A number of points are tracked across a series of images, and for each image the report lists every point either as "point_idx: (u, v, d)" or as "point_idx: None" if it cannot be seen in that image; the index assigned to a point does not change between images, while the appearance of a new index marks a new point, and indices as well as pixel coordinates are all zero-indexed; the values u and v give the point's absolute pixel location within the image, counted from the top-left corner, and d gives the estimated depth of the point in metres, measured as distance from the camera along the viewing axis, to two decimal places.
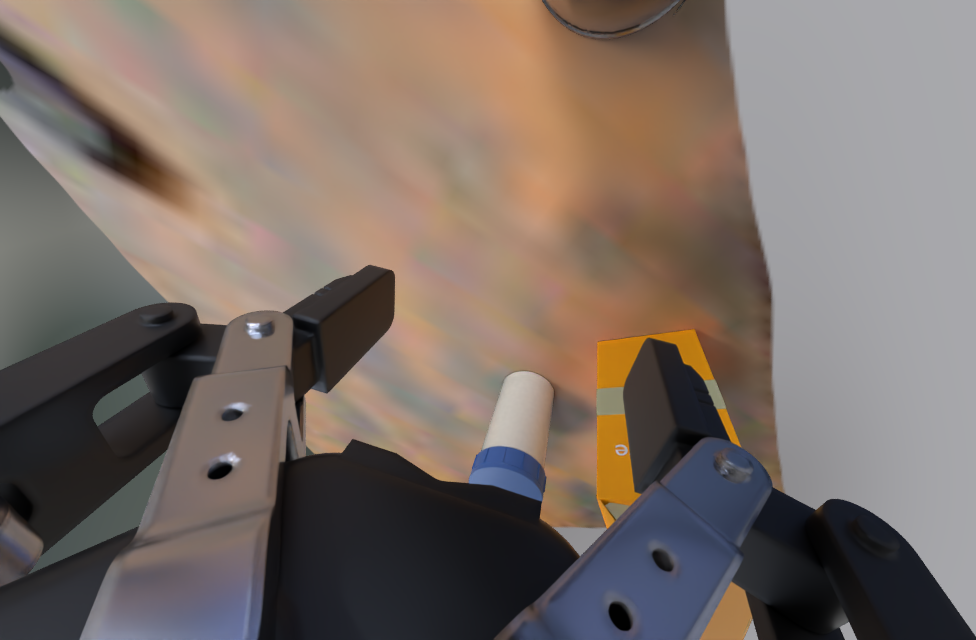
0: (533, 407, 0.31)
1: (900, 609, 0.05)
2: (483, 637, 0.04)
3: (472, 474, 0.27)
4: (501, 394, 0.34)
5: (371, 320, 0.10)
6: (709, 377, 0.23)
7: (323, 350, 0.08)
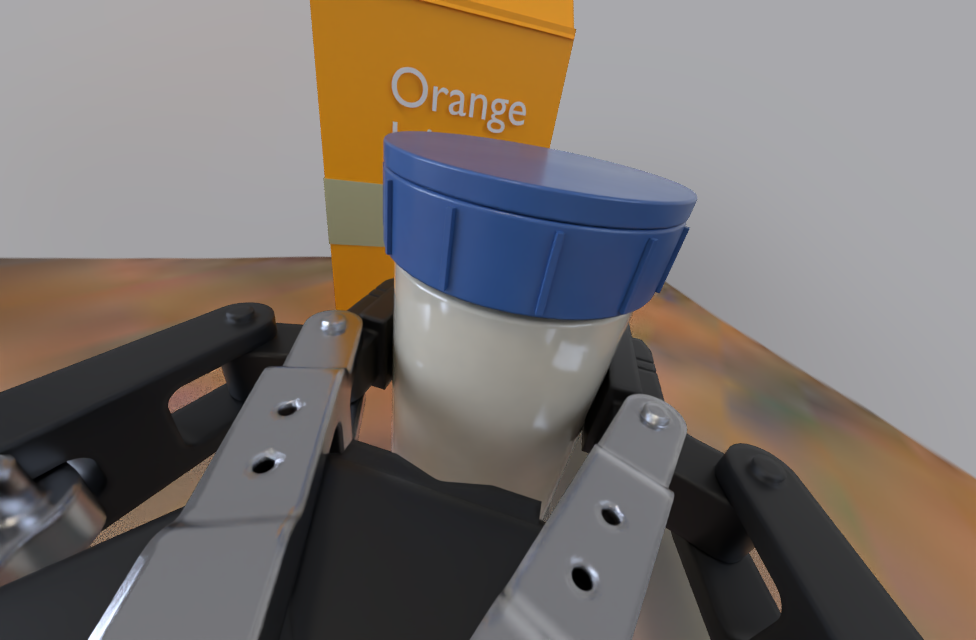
0: None
1: (794, 532, 0.05)
2: None
3: (455, 166, 0.05)
4: None
5: None
6: None
7: (385, 348, 0.09)
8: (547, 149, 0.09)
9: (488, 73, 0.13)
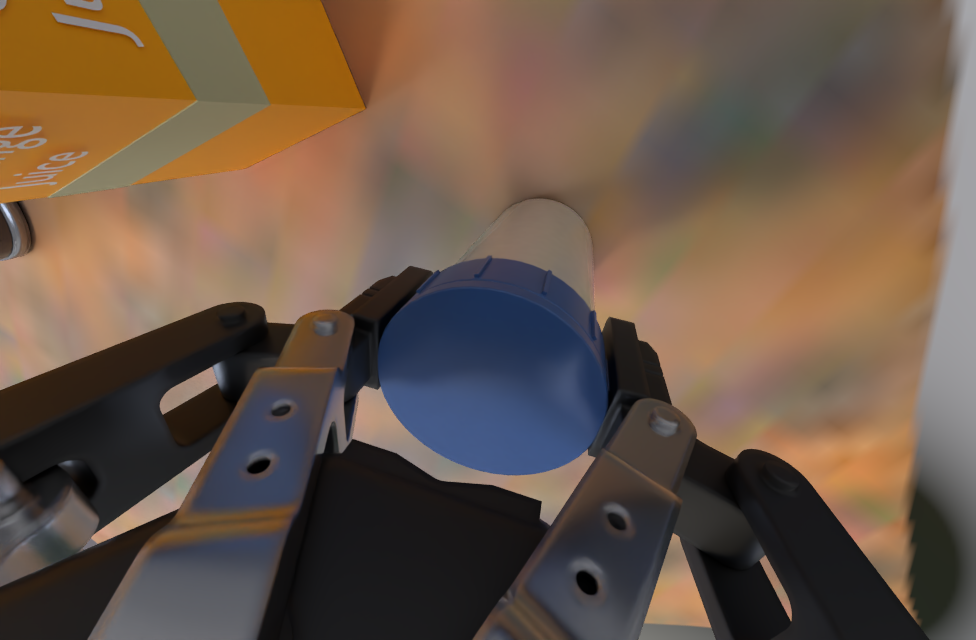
0: None
1: (805, 540, 0.05)
2: None
3: (443, 454, 0.10)
4: None
5: None
6: None
7: None
8: (497, 311, 0.07)
9: None
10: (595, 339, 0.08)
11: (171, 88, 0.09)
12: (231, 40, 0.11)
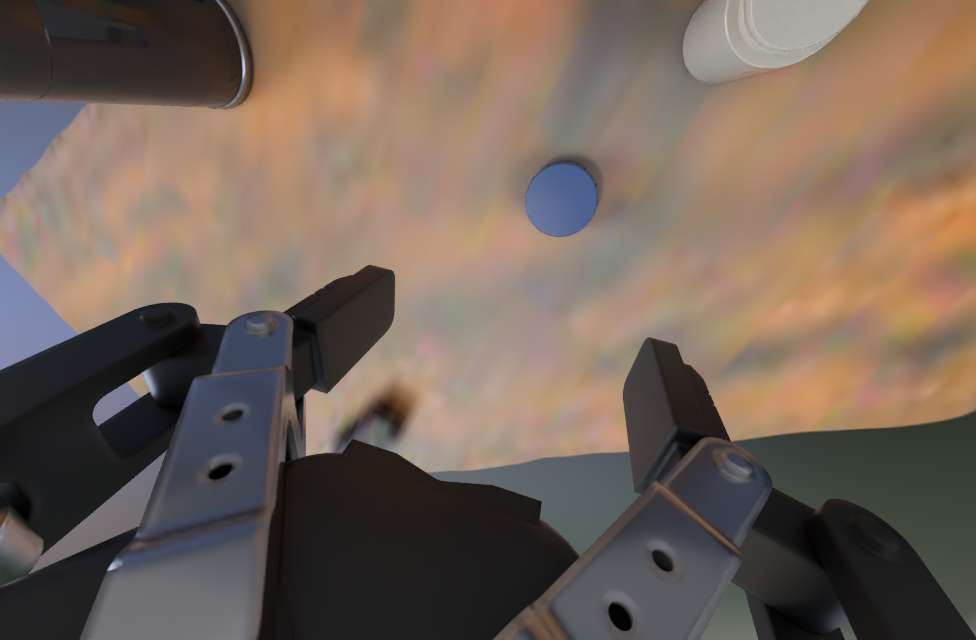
0: None
1: (900, 609, 0.05)
2: (482, 636, 0.04)
3: (586, 223, 0.29)
4: (703, 72, 0.22)
5: (371, 320, 0.10)
6: None
7: (323, 350, 0.08)
8: (533, 192, 0.29)
9: None
10: (548, 165, 0.28)
11: None
12: None
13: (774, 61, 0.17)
